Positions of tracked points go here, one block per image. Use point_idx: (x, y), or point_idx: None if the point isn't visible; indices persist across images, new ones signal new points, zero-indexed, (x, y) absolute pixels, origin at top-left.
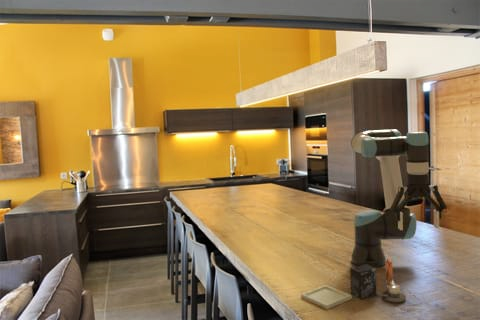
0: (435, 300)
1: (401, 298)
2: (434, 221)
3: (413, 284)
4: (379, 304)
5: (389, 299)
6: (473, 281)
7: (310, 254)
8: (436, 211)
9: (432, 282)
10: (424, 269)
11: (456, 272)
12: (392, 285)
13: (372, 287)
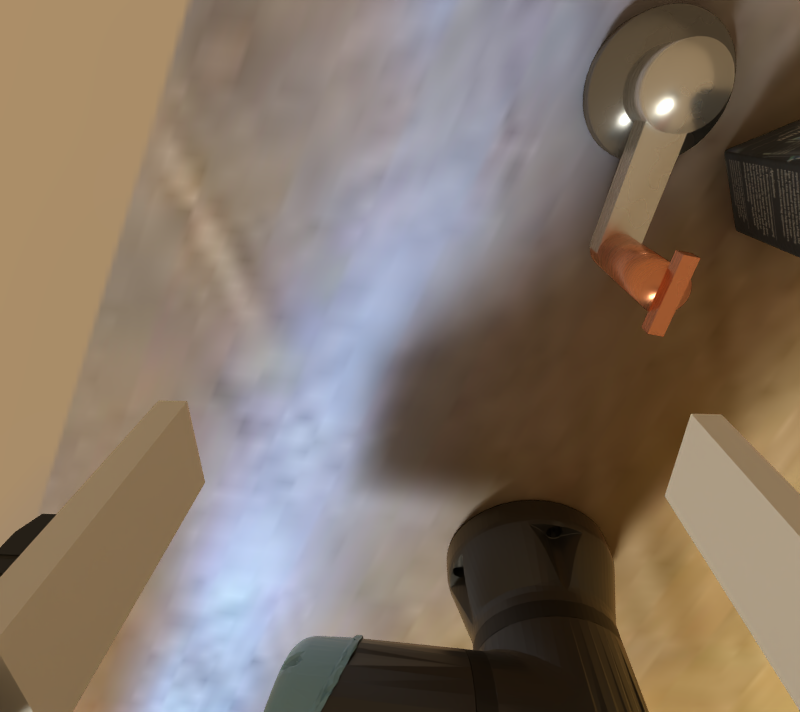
0: (421, 31)
1: (640, 30)
2: (165, 525)
3: (440, 279)
4: (789, 4)
5: (722, 25)
6: (117, 278)
7: (737, 660)
8: (8, 656)
9: (330, 292)
10: (305, 448)
11: (166, 395)
12: (683, 109)
13: (794, 139)
